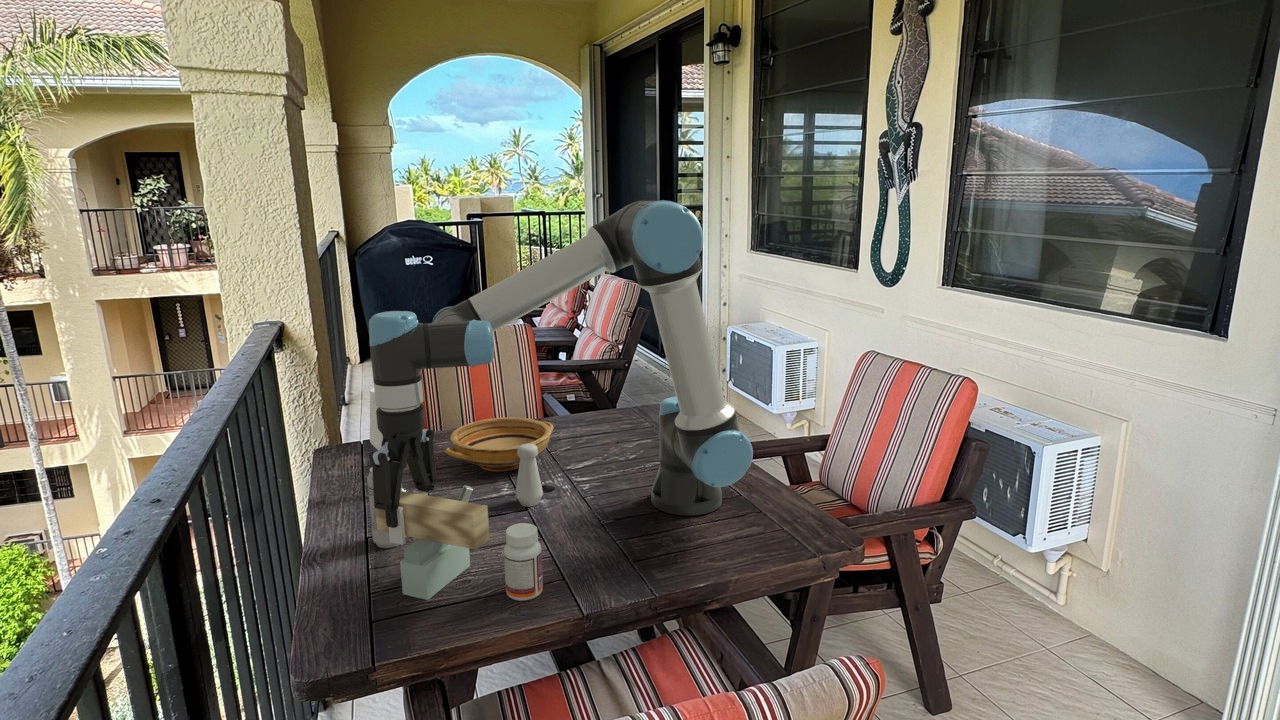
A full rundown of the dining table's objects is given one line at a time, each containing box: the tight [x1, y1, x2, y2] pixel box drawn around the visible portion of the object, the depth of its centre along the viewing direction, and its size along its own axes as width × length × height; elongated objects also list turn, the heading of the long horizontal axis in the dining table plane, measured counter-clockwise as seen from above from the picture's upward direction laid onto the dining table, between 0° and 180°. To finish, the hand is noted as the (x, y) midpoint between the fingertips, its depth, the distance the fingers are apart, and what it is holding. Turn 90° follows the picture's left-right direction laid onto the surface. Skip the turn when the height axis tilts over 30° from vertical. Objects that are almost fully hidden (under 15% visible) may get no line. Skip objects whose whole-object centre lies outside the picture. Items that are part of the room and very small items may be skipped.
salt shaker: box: [515, 444, 544, 508], centre depth 153 cm, size 6×6×13 cm
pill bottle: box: [503, 522, 544, 601], centre depth 119 cm, size 6×6×11 cm
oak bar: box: [375, 491, 491, 551], centre depth 122 cm, size 20×4×6 cm, turn 68°
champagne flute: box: [369, 387, 407, 492], centre depth 157 cm, size 7×7×24 cm
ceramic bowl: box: [444, 416, 554, 472], centre depth 177 cm, size 30×24×8 cm
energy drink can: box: [366, 467, 407, 549], centre depth 136 cm, size 6×6×15 cm
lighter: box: [457, 484, 474, 502], centre depth 143 cm, size 7×2×8 cm, turn 125°
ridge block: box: [399, 538, 471, 601], centre depth 124 cm, size 5×12×8 cm, turn 158°
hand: (410, 533), depth 125 cm, fingers open, 6 cm apart
